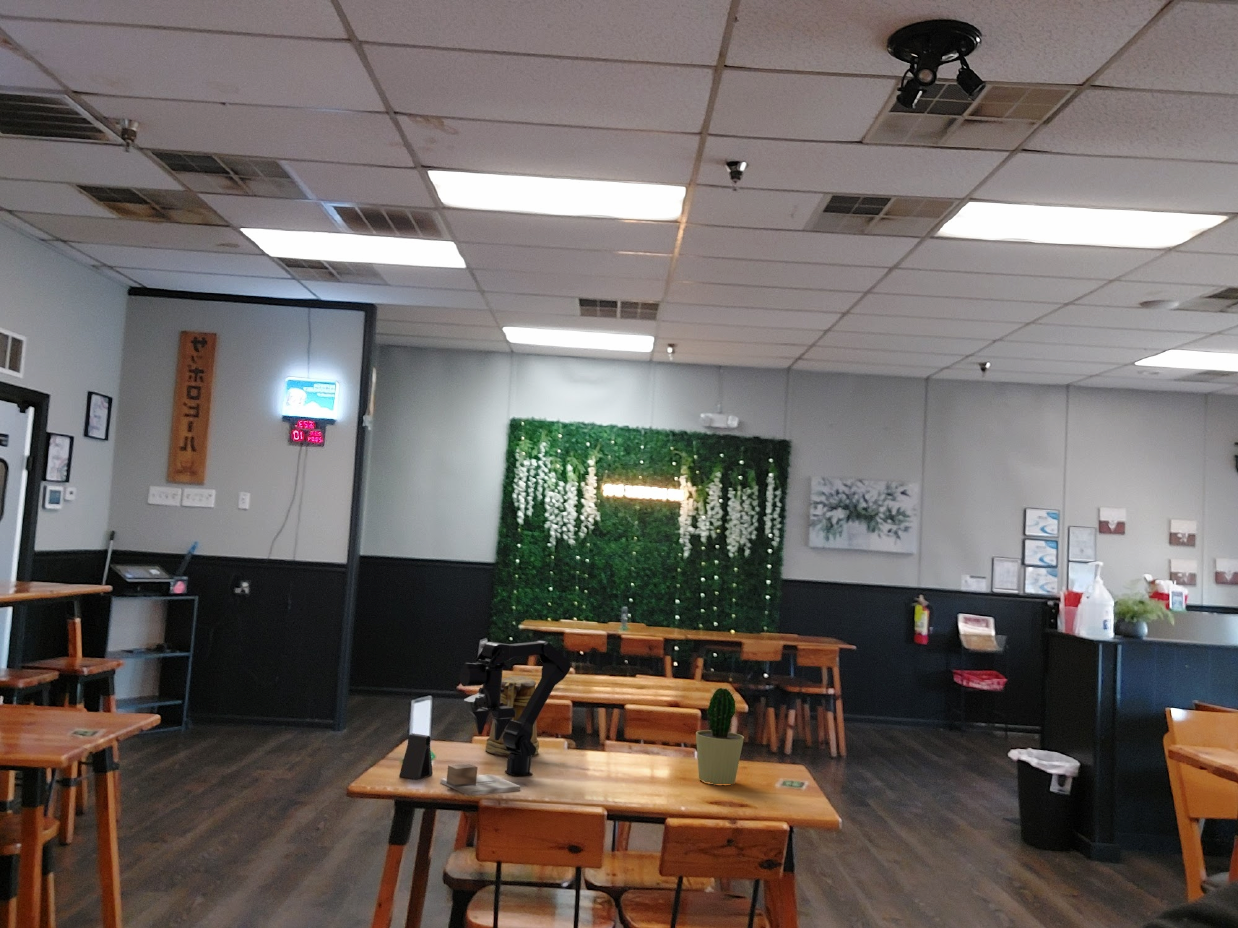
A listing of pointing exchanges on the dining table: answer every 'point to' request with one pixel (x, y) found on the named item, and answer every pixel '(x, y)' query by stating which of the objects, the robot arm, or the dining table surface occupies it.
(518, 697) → the tankard
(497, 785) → the board
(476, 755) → the dining table surface
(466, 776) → the block
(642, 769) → the dining table surface
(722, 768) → the potted cactus
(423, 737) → the phone stand
